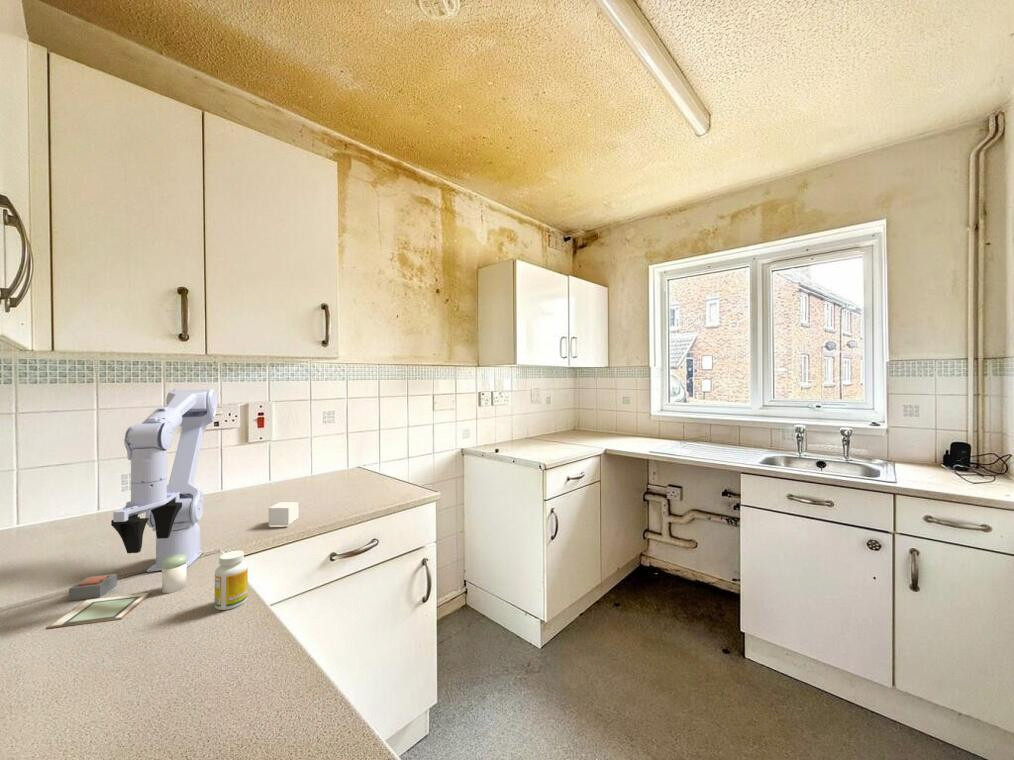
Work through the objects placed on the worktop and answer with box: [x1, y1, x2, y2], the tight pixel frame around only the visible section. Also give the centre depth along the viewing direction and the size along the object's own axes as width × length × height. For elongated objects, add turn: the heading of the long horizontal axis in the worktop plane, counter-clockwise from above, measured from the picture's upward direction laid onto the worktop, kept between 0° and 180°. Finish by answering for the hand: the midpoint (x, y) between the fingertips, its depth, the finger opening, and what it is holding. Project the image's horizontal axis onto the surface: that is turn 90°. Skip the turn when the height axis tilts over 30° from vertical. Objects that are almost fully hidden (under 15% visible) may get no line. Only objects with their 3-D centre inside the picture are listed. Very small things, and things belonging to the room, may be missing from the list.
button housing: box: [68, 573, 118, 602], centre depth 84 cm, size 5×5×2 cm
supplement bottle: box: [214, 550, 249, 611], centre depth 80 cm, size 5×5×10 cm
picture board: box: [45, 591, 153, 630], centre depth 78 cm, size 10×11×1 cm
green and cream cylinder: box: [161, 554, 187, 594], centre depth 86 cm, size 4×4×6 cm
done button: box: [80, 575, 107, 586], centre depth 84 cm, size 3×3×1 cm
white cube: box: [268, 501, 300, 526], centre depth 125 cm, size 6×6×6 cm
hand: (149, 544), depth 85 cm, fingers open, 7 cm apart
